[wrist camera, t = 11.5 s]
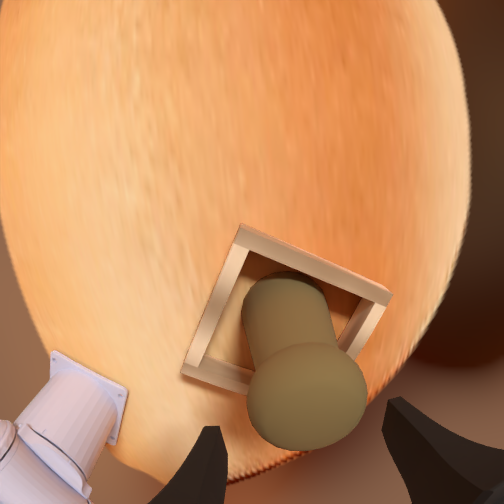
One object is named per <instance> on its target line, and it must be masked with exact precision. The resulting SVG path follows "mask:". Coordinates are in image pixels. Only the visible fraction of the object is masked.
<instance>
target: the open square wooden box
mask: <svg viewBox="0 0 504 504" xmlns="http://www.w3.org/2000/svg"><path fill="white" fill-rule="evenodd" d="M249 250H251V251H253V252H256V253H258V254H260V255H263V256H265V257H268V258H270V259H272V260H275V261H277V262H280V263H282V264H284V265H287V266H289V267H291V268H294V269H296V270H299V271H301V272H303V273H306V274H308V275H311V276H313V277H315V278H318V279H320V280H323V281H325V282H327V283H330V284H332V285H334V286H337V287H339V288H342V289H344V290H346V291H349V292H351V293H354V294H356V295H358V296H361V297H362V299H361V300H360V302H359V304H358V306H357V308H356V310H355V311H354V313H353V315H352V317H351V319H350V320H349V322H348V324H347V326H346V327H345V329H344V331H343V333H342V334H341V336H340V338H339V339H338V341H337V343H338V347H339V349H341V350H342V351H344V352H345V353H346V354H348V355H349V356H350V357H351V358H352V359H353V360H354V361H355V359H356V358H357V356H358V354H359V353H360V351H361V350H362V348H363V346H364V345H365V343H366V342H367V340H368V338H369V337H370V335H371V333H372V332H373V330H374V328H375V326H376V325H377V323H378V321H379V319H380V318H381V316H382V314H383V312H384V311H385V309H386V307H387V305H388V303H389V301H390V300H391V298H392V296H393V294H392V293H391V292H390V291H389V290H388V289H386V288H385V287H384V286H383V285H381V284H379V283H377V282H375V281H372V280H370V279H368V278H366V277H364V276H361V275H359V274H357V273H355V272H353V271H350V270H348V269H346V268H344V267H341V266H339V265H337V264H335V263H332V262H330V261H328V260H326V259H323V258H321V257H319V256H317V255H314V254H312V253H310V252H307V251H305V250H303V249H301V248H298V247H296V246H294V245H291V244H289V243H287V242H284V241H282V240H280V239H278V238H275V237H273V236H271V235H268V234H266V233H264V232H261V231H259V230H257V229H254V228H252V227H249V226H247V225H245V224H242V223H241V224H240V227H239V229H238V231H237V234H236V236H235V238H234V241H233V243H232V245H231V248H230V250H229V253H228V255H227V257H226V260H225V262H224V264H223V267H222V269H221V272H220V274H219V276H218V279H217V281H216V284H215V286H214V288H213V291H212V293H211V296H210V298H209V300H208V303H207V305H206V308H205V310H204V313H203V315H202V318H201V320H200V322H199V325H198V327H197V330H196V332H195V335H194V337H193V340H192V342H191V345H190V347H189V350H188V352H187V355H186V357H185V360H184V363H183V366H182V369H181V372H180V373H183V374H185V375H188V376H191V377H193V378H196V379H199V380H201V381H204V382H207V383H210V384H212V385H215V386H218V387H221V388H224V389H227V390H230V391H233V392H236V393H239V394H242V395H246V396H247V393H248V389H249V385H250V381H251V379H252V377H253V374H254V373H255V372H254V371H251V370H248V369H245V368H242V367H239V366H237V365H234V364H231V363H228V362H225V361H222V360H220V359H217V358H214V357H212V356H209V355H206V354H204V352H205V350H206V348H207V346H208V343H209V341H210V339H211V336H212V334H213V332H214V330H215V327H216V325H217V323H218V320H219V318H220V316H221V313H222V311H223V309H224V307H225V304H226V302H227V300H228V297H229V295H230V293H231V291H232V288H233V286H234V284H235V282H236V279H237V277H238V275H239V272H240V270H241V268H242V266H243V263H244V261H245V259H246V256H247V254H248V252H249Z"/></svg>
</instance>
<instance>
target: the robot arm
mask: <svg viewBox="0 0 504 504" xmlns="http://www.w3.org/2000/svg"><path fill="white" fill-rule="evenodd" d="M55 359H56V360H55ZM120 394H121V395H120ZM122 395H123V396H122ZM127 395H128V390H127V389H126V388H125V387H123V386H121V385H119V384H117V383H115V382H113V381H111V380H109V379H107V378H105V377H103V376H101V375H99V374H97V373H95V372H93V371H91V370H89V369H88V368H86V367H84V366H82V365H80V364H78V363H77V362H75V361H73V360H71V359H70V358H68V357H66V356H65V355H63V354H61V353H59V352H58V351H56V350H53V351H52V352H51V358H50V381H49V382H48V383H47V384H46V385H45V386H44V387H43V388H42V389H41V391H40V392H39V393H38V394H37V395H36V396H35V398H34V399H33V400H32V401H31V403H30V404H29V405H28V406H27V407H26V408H25V410H24V411H23V412H22V413H21V415H20V416H19V417H18V418H17V419H16V421H15V422H14V423H13V424H12V423H11V422H10V421H8V420H0V504H94V503H93V502H92V501H91V499H90V498H89V496H90V493H91V491H92V488H91V487H90V486H89V485H88V484H87V480H88V479H89V477H90V475H91V473H92V471H93V469H94V467H95V465H96V463H97V461H98V459H99V456H100V454H101V452H102V450H103V448H104V446H105V444H106V443H109V444H111V445H116V443H117V439H118V434H119V429H120V425H121V420H122V416H123V412H124V408H125V403H126V399H127ZM382 433H383V436H384V439H385V442H386V445H387V448H388V450H389V452H390V454H391V456H392V458H393V460H394V462H395V464H396V466H397V468H398V470H399V472H400V474H401V476H402V478H403V480H404V482H405V484H406V487H407V489H408V492H409V495H410V498H411V501H412V504H504V450H502V449H497V448H492V447H488V446H485V445H482V444H478V443H476V442H473V441H470V440H468V439H465V438H464V437H461V436H459V435H457V434H455V433H453V432H451V431H449V430H448V429H446V428H444V427H442V426H441V425H439V424H438V423H436V422H435V421H433V420H432V419H430V418H429V417H427V416H426V415H425V414H423V413H422V412H420V411H419V410H418V409H416V408H415V407H414V406H412V405H411V404H410V403H408V402H407V401H406V400H405V399H403V398H402V397H396V398H393V399H389V400H388V402H387V408H386V412H385V417H384V422H383V426H382ZM227 475H228V453H227V450H226V447H225V443H224V440H223V437H222V433H221V430H220V426H205V427H204V428H203V429H202V431H201V433H200V435H199V437H198V439H197V441H196V443H195V445H194V446H193V448H192V450H191V452H190V453H189V455H188V456H187V458H186V460H185V461H184V463H183V464H182V466H181V467H180V468H179V470H178V471H177V472H176V474H175V475H174V476H173V478H172V479H171V480H170V481H169V483H168V484H167V485H166V486H165V487H164V488H163V489H162V490H161V491H160V492H159V493H158V494H157V495H156V496H155V497H154V498H153V499H152V500H151V501H150V502H149V503H148V504H224V497H225V490H226V483H227Z"/></svg>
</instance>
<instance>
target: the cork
mask: <svg viewBox="0 0 504 504" xmlns="http://www.w3.org/2000/svg"><path fill="white" fill-rule="evenodd" d="M241 313H242V319H243V325H244V329H245V333H246V337H247V340H248V344H249V348H250V352H251V356H252V359H253V363H254V367H255V371H256V372H255V373H254V374H253V377H252V379H251V381H250V385H249V389H248V393H247V409H248V414H249V418H250V421H251V423H252V426H253V427H254V428H255V430H256V431H257V432H258V433H259V435H260V436H261V437H262V438H263V439H265V440H266V441H267V442H269V443H271V444H272V445H274V446H276V447H278V448H282V449H286V450H289V451H308V450H314V449H320V448H323V447H325V446H328V445H331V444H333V443H335V442H337V441H339V440H340V439H342V438H343V437H345V436H347V435H348V434H349V433H350V432H351V431H352V430H353V429H354V428H355V427H356V426H357V424H358V423H359V421H360V419H361V417H362V415H363V413H364V410H365V408H366V402H367V394H368V393H367V385H366V382H365V379H364V376H363V373H362V371H361V369H360V368H359V366H358V364H357V363H356V362H355V361H354V360H353V359H352V358H351V357H350V356H349V355H348V354H346V353H345V352H344V351H342V350H341V349H339V347H338V343H337V339H336V335H335V332H334V328H333V324H332V320H331V317H330V313H329V309H328V305H327V302H326V299H325V296H324V294H323V292H322V289H321V288H320V287H319V286H318V285H317V284H316V283H315V281H314V280H312V279H310V278H309V277H307V276H305V275H303V274H301V273H295V272H289V271H286V272H278V273H273V274H271V275H268V276H266V277H264V278H262V279H260V280H259V281H258V282H257V283H256V284H254V285H253V286H252V287H251V288H250V290H249V291H248V293H247V295H246V297H245V298H244V301H243V306H242V311H241Z"/></svg>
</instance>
